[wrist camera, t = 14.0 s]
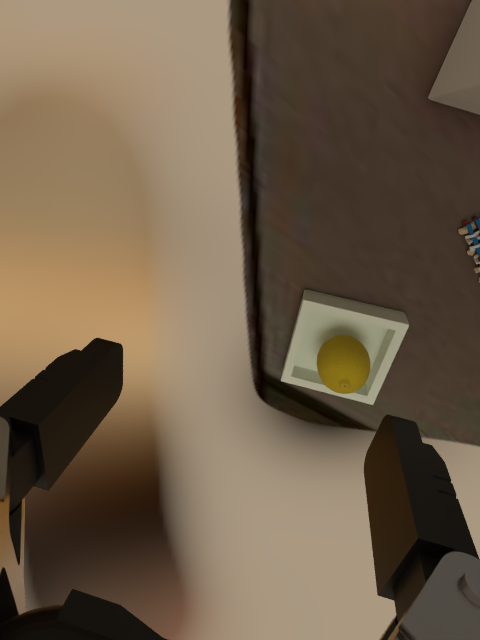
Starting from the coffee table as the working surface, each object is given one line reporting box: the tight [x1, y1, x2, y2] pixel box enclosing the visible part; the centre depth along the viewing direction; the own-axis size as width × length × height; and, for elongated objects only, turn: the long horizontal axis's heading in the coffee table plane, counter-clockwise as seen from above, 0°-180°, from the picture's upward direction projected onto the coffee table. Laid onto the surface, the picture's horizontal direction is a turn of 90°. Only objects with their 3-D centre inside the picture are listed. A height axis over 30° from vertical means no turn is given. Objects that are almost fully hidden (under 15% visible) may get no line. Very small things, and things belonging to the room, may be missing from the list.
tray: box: [281, 289, 409, 405], centre depth 42 cm, size 11×11×3 cm
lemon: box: [317, 335, 370, 394], centre depth 39 cm, size 6×6×8 cm
